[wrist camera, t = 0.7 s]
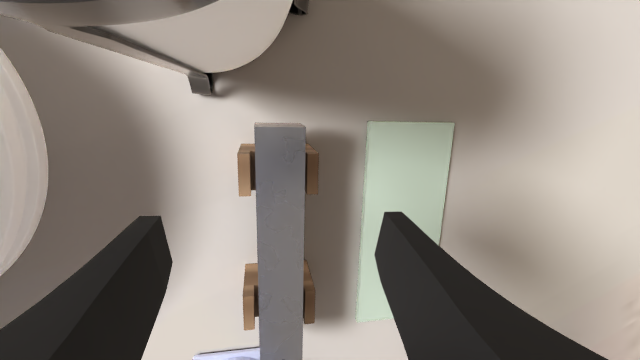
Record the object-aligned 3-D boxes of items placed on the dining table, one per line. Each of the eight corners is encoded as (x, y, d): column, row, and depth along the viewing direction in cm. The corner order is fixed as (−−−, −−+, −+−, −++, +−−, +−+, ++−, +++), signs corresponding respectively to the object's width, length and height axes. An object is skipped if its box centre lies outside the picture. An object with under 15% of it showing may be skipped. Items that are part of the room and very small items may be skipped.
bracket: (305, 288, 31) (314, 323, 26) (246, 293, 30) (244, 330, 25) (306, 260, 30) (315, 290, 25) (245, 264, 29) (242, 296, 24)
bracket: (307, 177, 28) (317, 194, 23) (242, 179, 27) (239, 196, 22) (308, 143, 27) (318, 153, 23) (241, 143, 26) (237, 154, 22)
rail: (297, 332, 28) (302, 361, 25) (260, 336, 27) (260, 366, 24) (299, 123, 23) (305, 127, 20) (254, 122, 23) (254, 126, 20)
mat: (427, 311, 34) (429, 314, 34) (355, 318, 33) (357, 322, 32) (450, 122, 29) (454, 122, 29) (367, 121, 28) (369, 121, 27)
